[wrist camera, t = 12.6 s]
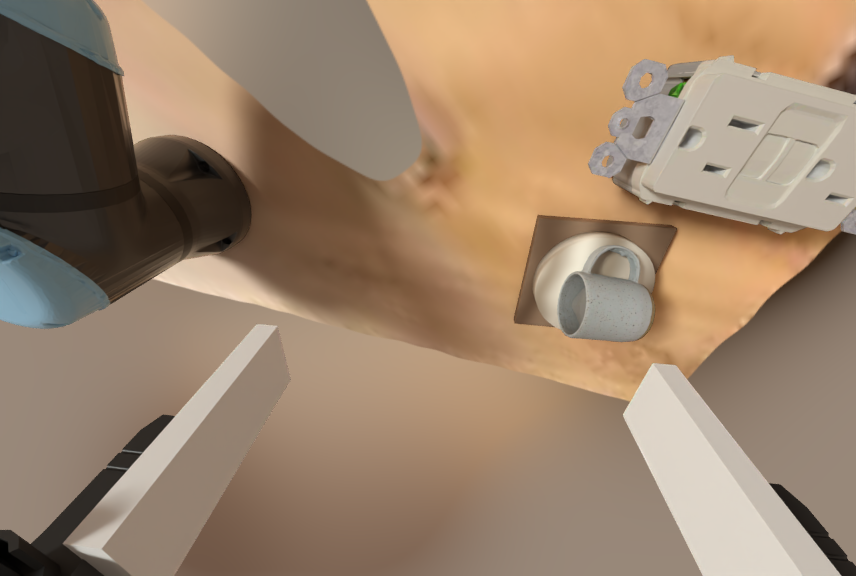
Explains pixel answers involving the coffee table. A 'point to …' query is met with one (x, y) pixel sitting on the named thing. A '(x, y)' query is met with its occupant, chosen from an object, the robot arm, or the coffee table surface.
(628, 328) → the ceramic mug
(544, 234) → the pedestal
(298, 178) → the coffee table surface
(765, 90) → the electrical outlet
